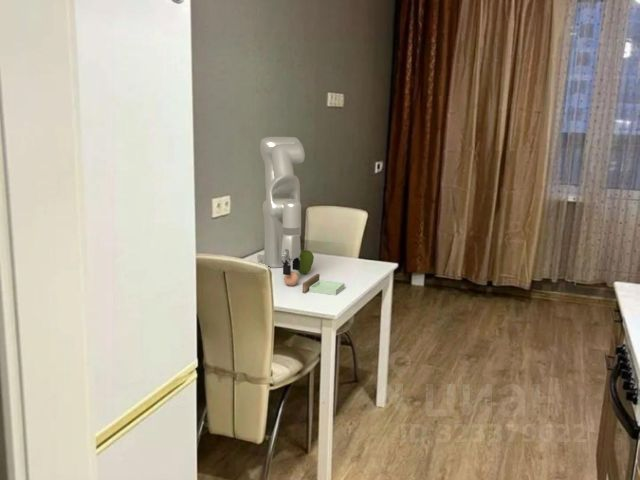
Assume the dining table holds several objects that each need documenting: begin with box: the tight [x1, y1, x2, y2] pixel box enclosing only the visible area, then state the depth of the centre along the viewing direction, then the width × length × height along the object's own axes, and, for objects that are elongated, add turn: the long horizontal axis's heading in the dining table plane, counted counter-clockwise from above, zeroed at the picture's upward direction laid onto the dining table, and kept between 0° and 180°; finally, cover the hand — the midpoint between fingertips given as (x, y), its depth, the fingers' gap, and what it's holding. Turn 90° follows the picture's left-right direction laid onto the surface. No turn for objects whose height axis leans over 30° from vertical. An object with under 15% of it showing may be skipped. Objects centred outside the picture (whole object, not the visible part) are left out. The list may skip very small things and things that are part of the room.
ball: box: [283, 270, 299, 287], centre depth 251 cm, size 6×6×6 cm
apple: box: [297, 249, 315, 275], centre depth 269 cm, size 9×8×12 cm
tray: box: [308, 279, 346, 296], centre depth 246 cm, size 11×11×2 cm
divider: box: [302, 273, 321, 294], centre depth 249 cm, size 1×16×4 cm, turn 159°
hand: (291, 272), depth 250 cm, fingers open, 9 cm apart
